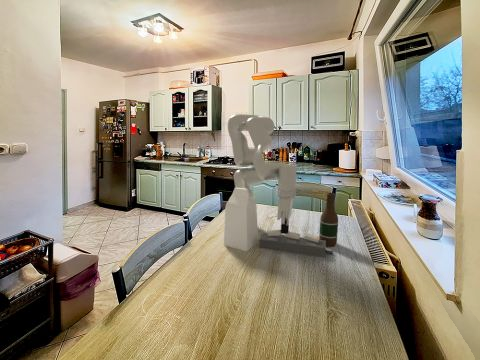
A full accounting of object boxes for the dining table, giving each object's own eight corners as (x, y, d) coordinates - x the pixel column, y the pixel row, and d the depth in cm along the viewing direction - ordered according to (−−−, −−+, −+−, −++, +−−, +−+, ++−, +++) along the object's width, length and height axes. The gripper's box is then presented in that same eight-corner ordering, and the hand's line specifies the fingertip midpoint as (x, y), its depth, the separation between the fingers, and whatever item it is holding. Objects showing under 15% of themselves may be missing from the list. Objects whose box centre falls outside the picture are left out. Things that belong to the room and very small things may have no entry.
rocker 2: (303, 238, 109) (304, 235, 108) (304, 235, 112) (305, 232, 111) (317, 242, 107) (318, 239, 106) (318, 239, 110) (319, 236, 109)
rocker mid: (285, 236, 111) (285, 233, 111) (286, 233, 114) (286, 230, 114) (299, 239, 109) (299, 236, 109) (299, 236, 112) (300, 233, 112)
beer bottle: (338, 248, 111) (341, 195, 107) (319, 246, 113) (322, 194, 108) (335, 241, 119) (338, 191, 114) (318, 239, 120) (320, 190, 116)
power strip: (258, 247, 112) (259, 238, 111) (263, 240, 120) (263, 232, 119) (332, 258, 102) (333, 249, 101) (332, 250, 109) (333, 241, 109)
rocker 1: (267, 236, 114) (267, 232, 114) (269, 233, 117) (268, 230, 117) (280, 235, 112) (280, 232, 112) (282, 232, 115) (281, 229, 115)
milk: (223, 245, 115) (222, 189, 110) (235, 236, 125) (235, 185, 120) (247, 250, 109) (247, 192, 104) (258, 241, 119) (258, 187, 114)
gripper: (281, 189, 117) (279, 226, 121) (274, 196, 103) (272, 238, 107) (297, 190, 115) (295, 228, 118) (292, 198, 101) (290, 241, 104)
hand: (284, 233), depth 113 cm, fingers closed
